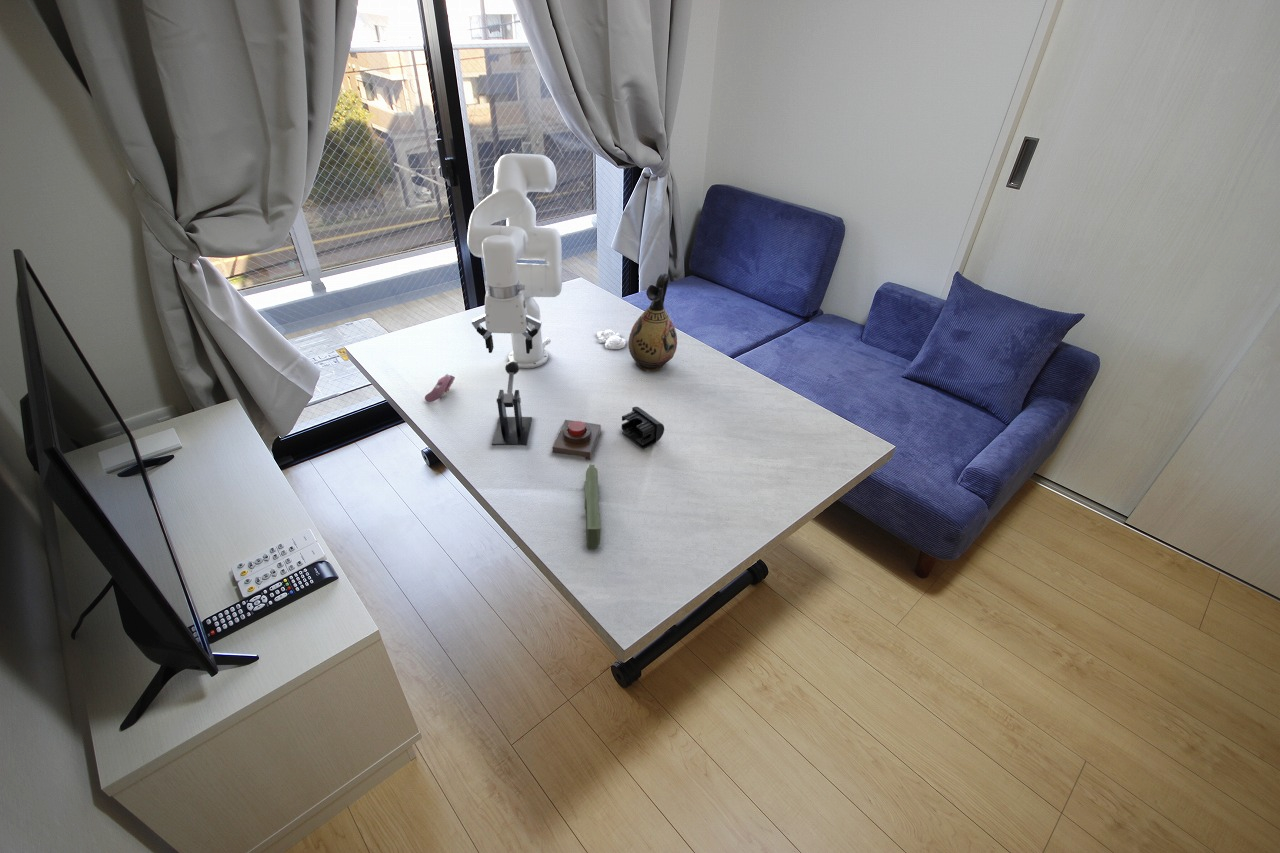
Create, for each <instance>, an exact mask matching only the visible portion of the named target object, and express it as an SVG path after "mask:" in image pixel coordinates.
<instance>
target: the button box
mask: <svg viewBox="0 0 1280 853" xmlns="http://www.w3.org/2000/svg"><path fill="white" fill-rule="evenodd" d="M573 421H574V420H571V419H570V420H569V419H564V421H563V423H562V425H561V427H560V430H559V432H558V433H557V436H556V438H555V440H554V442H553V444H552V447H551V450H552V453H555V454H561V455H568V456H574V457H582V458H585V460H586V461H592V457H593V454H594V452H595V449H596V447H597V444H598V441H599V438H600V436H601V432H602V431H601V430H602V425H601V424H599V423H593V422H592V423H591V422H584V421H582V422H583V423H584V424H585V433H584V434H583V435H581V436H572V435H570V434H569V429H568V426H569V424H570V423H571V422H573Z"/></svg>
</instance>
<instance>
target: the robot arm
mask: <svg viewBox="0 0 1280 853" xmlns="http://www.w3.org/2000/svg"><path fill="white" fill-rule="evenodd" d="M493 173H494V180H493V181H494V182H493V188H492V193H490V194H489V195H488V196H487V197H485V198H484V199H483V200H482V201H480V202H479V203H478V204H477V205H476V206H475V207H474V209H473V210H472V212H471V214H470V217H469V222H468V227H467V228H468V229H467V239H466V241H467V248H468V251H469V252H470V253H471V254H472V255H473V256H474V257H477V258H483V264H484V265H483V267H484V274H485V282H486V290H487V291H486V292H485V296H484V314H482V315H480V316H478V317H476V318H473V319H472V321H471V325H472V327H473V328H474V329H475V330H476V332H477V333H478V334H479V335H480V336H482V339H483V340H484V341H485V348H486V349H488V354H492V353H493V350H494V349H495V348H494V347H495V346H494V340H493V334H510V339H511V340H510V341H511V347H512V350H511V351H510V352H509V354H508V356H507V357H508V362H511V361H514V362H516V363H517V364H518V365H519V369H534V368H538V367H541V366H543V365H545V364H546V362H547V361H548V359H549V354H548V352H547V351H546V350H545V348H546V346H548V345H550V344H551V342H552V341H551V338H549V337H546V338H545V339H543V335H542V323H543V322H542V321H541V309H540V306H539V304H538V302H537V301H536V299H535V298H556V297H558V296H560V295H561V292H562V289H563V249H562V248H563V245H562V244H563V243H562V237H561V233H560V231H559V230H558V229H556V228H555V227H551V226H539V225H538V226H537V210H536V207H535V206H534V205H533V203H532V201H531V200H530V199H529V198H528V197H527V196H528V193H552V192H553V191H554V190H555V188H556V185H557V180H558V179H557V176H558V175H557V169H556V166H555V164H554V162H553V161H552V160H551V159H550V158H549V157H548V156H546V155H545V154H544V155H543V154H538V153H516V152H515V153H513V152H512V153H506V154H503V155H501V156H500V157H499V159H497V162H496V163H495V165H494V170H493ZM504 220H506V225H494V224H496V223H499V222H500V221H501V222H502V221H504ZM518 260H519V261H520V260H521V261H544V262H545V263H522V262H521V263H518ZM484 322H485V327H484V326H482V325H481V324H482V323H484Z"/></svg>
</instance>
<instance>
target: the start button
mask: <svg viewBox="0 0 1280 853" xmlns="http://www.w3.org/2000/svg"><path fill="white" fill-rule="evenodd" d="M572 421H573V422H571V423H570V424H569V426H568V429H569V434H570V435H572V436H581V435H583V434H584V433H585V424H584V423H583V422H584V421H581V420H572Z"/></svg>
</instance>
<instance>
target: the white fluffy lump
mask: <svg viewBox="0 0 1280 853" xmlns="http://www.w3.org/2000/svg"><path fill="white" fill-rule="evenodd" d="M596 337H597V338H598V339H597V342H598V343H600V344H604V347H605V348H606V349H608V350H621V349H623V348H624V347H626V344H627V340H626V339H625V338H623V337H621V334H620V332H617V333H615V331H613V330H612V329H606V330H603V331H597V332H596Z"/></svg>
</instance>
